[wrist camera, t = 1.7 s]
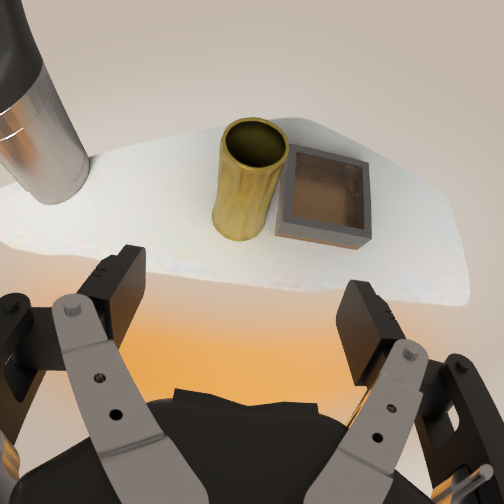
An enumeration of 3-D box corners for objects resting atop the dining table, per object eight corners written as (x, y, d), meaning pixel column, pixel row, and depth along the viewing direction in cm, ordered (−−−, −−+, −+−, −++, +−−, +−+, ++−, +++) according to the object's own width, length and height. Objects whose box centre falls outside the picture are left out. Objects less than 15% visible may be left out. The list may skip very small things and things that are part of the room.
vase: (223, 186, 38) (233, 103, 24) (272, 204, 38) (304, 129, 24) (203, 230, 36) (202, 158, 22) (254, 249, 36) (282, 188, 22)
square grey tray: (275, 235, 37) (282, 222, 33) (282, 162, 40) (289, 144, 36) (356, 249, 37) (371, 238, 34) (356, 178, 41) (368, 162, 37)
